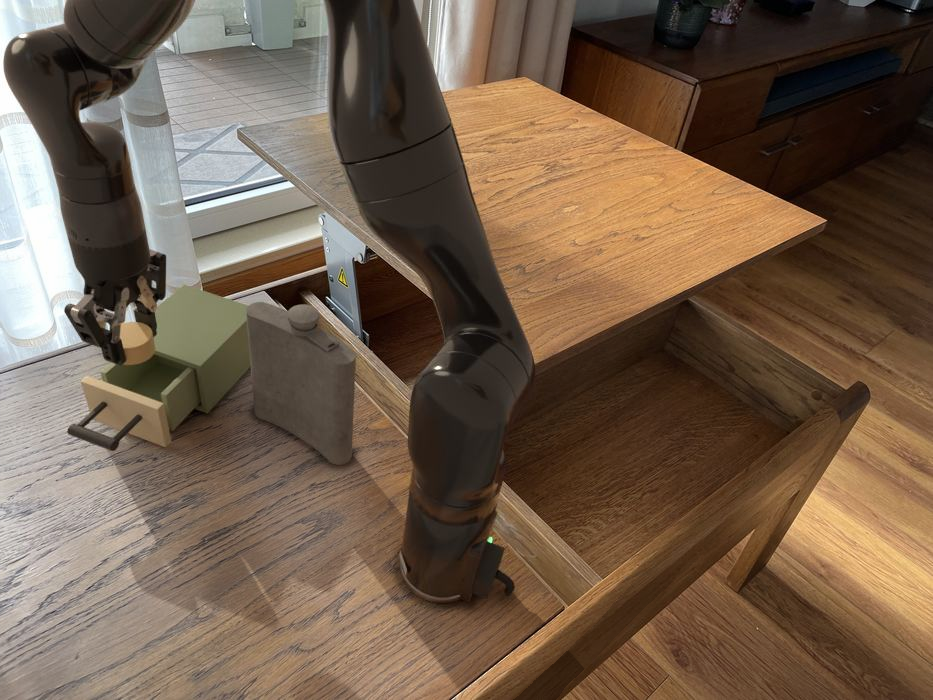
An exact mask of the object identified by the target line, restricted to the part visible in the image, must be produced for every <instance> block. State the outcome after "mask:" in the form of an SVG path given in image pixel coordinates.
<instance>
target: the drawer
mask: <svg viewBox="0 0 933 700" xmlns="http://www.w3.org/2000/svg"><path fill="white" fill-rule="evenodd" d="M100 376H101V380H100V379H99V378H95V377H93V376H90V375H86V376H85V377H84V378H82V380H80V384H81V387H82V391H83V394H84V397H85V400H86V404H87V407H88V410H89V413H88V414H87V415H85V416H84V418H82V419H81V420H80V421H79V422H78V423H72V424H70V425H69V427H68V428H67V431H66V432H67V435H69V436H71V437H74V438H76V439H79V440H81V441H84V442H86V443H90V444H92V445H95V446H98V447H100V448H102V449H105V450H108V451H110V452H115V451H116V450H117V449H118V448H119V445H120V442H121V441H122V440H123V438H125V437H126V436H127V434H129V435H132V436H135V437H137V438H140V439H143V440H145V441H148V442H150V443H153V444H155V445H159V446H161V447H164V448H166V447H167V446H169V444H170V443H171V442H172V437H171V432H170V431H172V432H173V431H175V429H176V428H177V427H178V426H179V425H180V424H181V423H182V422H183V421H184V420H185V419H186V418H187V417H188V415H190V414H191V412H193V410H195V409H194V408H195V407H196V406H197V405H198V404H199V403H200V402H201V398H200V392H199V385H198V379H197V372H196V369H195V368H192V367H189V366H186V365H183V364H180V363H178V362H175V361H172V360H169V359H166V358H163V357H160V356H158V355H155V354H153V356H152V357H151V358H150V359H148V360H147V361H145V362H142V363H139V364H134V365H124V364H122V365H117V364H114V363H111V362H109V364H107V366H105V367H104V368H103V369H102V370H100ZM92 421H95V422H96V423H100V424H103V425H105V426H108V427H110V428H113V429H116V430H119V431H118V432H117V433H116V435H115V436H113V437H110V436H108V435H105V434H103V433H100V432H98V431H95V430H92V429H90V428H88V427H86V426H88V424H89V423H91V422H92Z"/></svg>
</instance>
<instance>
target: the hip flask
mask: <svg viewBox="0 0 933 700" xmlns="http://www.w3.org/2000/svg"><path fill="white" fill-rule="evenodd" d="M246 316H247V328H248V340H249V351H250V363H251V367H250V375H251V385H252V397H253V408H254V409H253V410H254V414H255V417H257V418H258V419H261V420H263V421H265V422H268V423H271V424H273V425H275V426H276V427H279V428H281V429H283V430H285V431H287V432H289V433H290V434H292V435H294V436H295V437H296V438H299V439H300V440H302V441H303V442H305V443H306V444H308V445H309V446H311V447H312V448H313V449H315V450H316V451H317V452H318V453H320V454H321V455H322V456H323V457H324V458H325V459H326V460H327V461H328V462H330V463H331V464H333V465H335V466H342V465H346V464H348V463H349V462H351V460H352V457H353V439H354V438H353V436H354V435H353V434H354V412H355V409H354V408H355V389H356V387H355V386H356V365H357V364H356V363H357V354H356V352H355V350H354V349H353V348H351V347H350V346H349V345H347V344H346V343H345V342H343V341H342V340H341V339H340V338H338V337H337V336H335V335H333V334H332V333H331V332H329V331H327V330H325V329H324V328H322V327H320V326H319V325H318V324H319V321H320V312H319V310H318V308H316V307H315V306H313V305H311V304H304V303H303V304H302V303H301V304H297V305H294V306H292V307H290V308H289V309H288V310H287V309H285V308H282V307H279V306H276V305H273V304H271V303H268V302H264V301H256V302H252V303H250V304H248V307H247V308H246Z"/></svg>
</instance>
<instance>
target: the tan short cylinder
mask: <svg viewBox="0 0 933 700" xmlns="http://www.w3.org/2000/svg"><path fill="white" fill-rule="evenodd" d="M120 339H121V340H122V344H123V349H124V353H125V357H126V362H125V363H124V365H134V364H139V363H142V362H145V361H147V360H148V359H150V358H151V357H152V356H153V354H154V353H155V343H154V338H153V333H152V330H151V328H150V327H149V326H148V325H146V324H143V323H140V322H136V321H127V322H126V321H125V322H124V323H122V324H121V330H120Z"/></svg>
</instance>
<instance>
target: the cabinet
mask: <svg viewBox="0 0 933 700" xmlns="http://www.w3.org/2000/svg"><path fill="white" fill-rule="evenodd" d="M248 306H249V304H244V303H241V302H239V301H236V300H232V299H229V298H227V297H224V296H220V295H217V294H214V293H211V292H209V291H205V290H202V289H200V288H197V287H193V286H190V285H187V284H182V285H181V286H180V287H178V288H177V289H176V290H175V291H174V292H173V293H171V294H170V295H169V296H168V297H166V298H164V299H163V300H162V301H161V302H160V303H159V304H157V308H156V310H155V311H154V312H155V317H156V322H157V329H156V331H157V335H156V336H155V337H154V343H155V353H154V354H155V355H158V356H160V357H163V358H166V359H169V360H172V361H175V362H178V363H180V364H183V365H186V366H189V367H192V368H195V369H196V372H197V379H198V385H199V392H200V398H201V402H200V403H199V404H198V405H197V406H196V407H195V408H194V409H193V410H197V411H199V412H202V413H204V414H209V413H210V412H211V411H212V409H214V407H215V406H216V405H217V404H218V403H219V402H220V401H221V399H223V397H224V396H225V395H226V394H227V393H228V392H229V391H230V390H231V389H232V388H233V387H234V385H235V384H236V383H237V382H238V381H239V380H240V379H241V378H242V377H243V375H245V373H246V372H248V371H249V369H251V363H250V351H249V340H248V328H247V316H246V308H247V307H248Z"/></svg>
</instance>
